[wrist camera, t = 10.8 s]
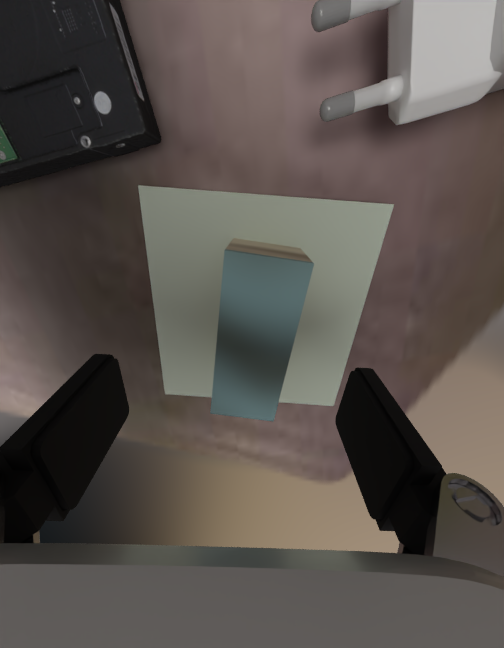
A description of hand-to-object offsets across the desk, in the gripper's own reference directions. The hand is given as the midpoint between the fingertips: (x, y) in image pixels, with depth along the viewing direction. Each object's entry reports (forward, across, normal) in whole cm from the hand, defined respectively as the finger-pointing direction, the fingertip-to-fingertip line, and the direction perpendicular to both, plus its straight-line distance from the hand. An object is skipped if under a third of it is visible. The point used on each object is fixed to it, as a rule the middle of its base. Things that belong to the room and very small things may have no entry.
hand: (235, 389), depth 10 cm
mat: (+8, -1, 0) cm, 8 cm away
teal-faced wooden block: (+7, -1, 0) cm, 7 cm away
